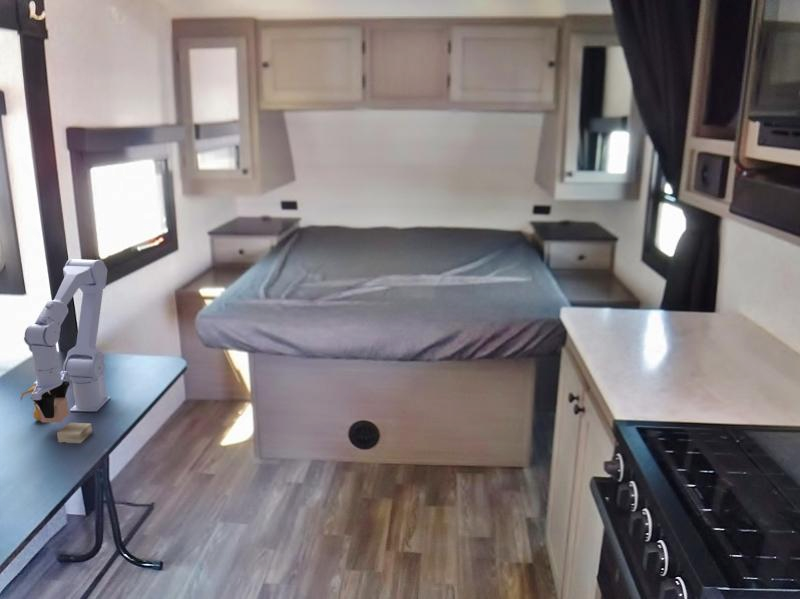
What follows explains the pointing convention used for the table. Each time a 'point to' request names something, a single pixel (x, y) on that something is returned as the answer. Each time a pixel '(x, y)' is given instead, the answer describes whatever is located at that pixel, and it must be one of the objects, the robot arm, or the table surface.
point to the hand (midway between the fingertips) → (54, 412)
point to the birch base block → (74, 432)
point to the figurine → (36, 411)
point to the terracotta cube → (57, 411)
